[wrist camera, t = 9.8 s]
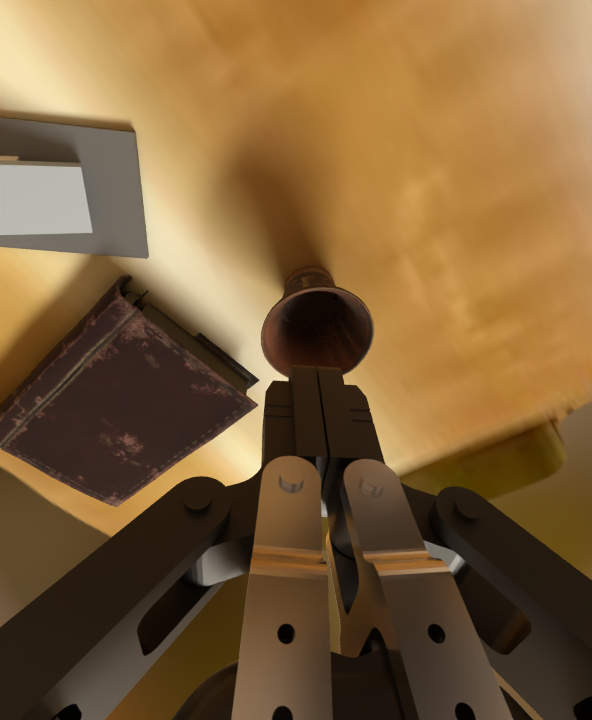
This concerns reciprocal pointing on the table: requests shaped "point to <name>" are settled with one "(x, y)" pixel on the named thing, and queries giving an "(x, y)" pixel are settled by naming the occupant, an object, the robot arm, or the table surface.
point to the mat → (86, 184)
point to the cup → (316, 325)
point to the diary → (122, 400)
